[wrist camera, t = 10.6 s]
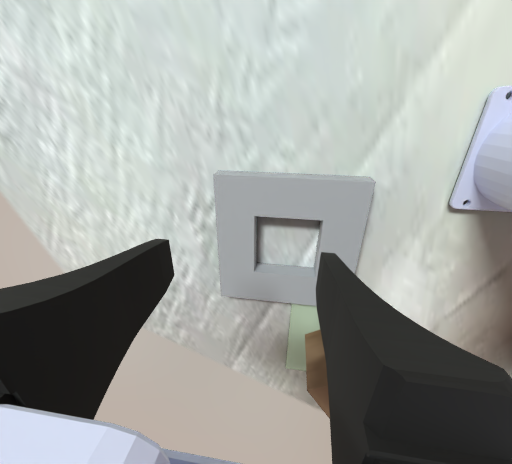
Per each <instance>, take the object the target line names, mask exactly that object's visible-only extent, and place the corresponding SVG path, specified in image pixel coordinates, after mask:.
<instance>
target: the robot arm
mask: <svg viewBox="0 0 512 464" xmlns="http://www.w3.org/2000/svg"><path fill="white" fill-rule="evenodd" d="M509 91H510V92H511V96H510V98H509V99H506V95H507V93H508V92H509ZM466 200H468V202H467V203H466V204H464V205H463V202H464V201H466ZM449 204H450V206H451V207H453V208H455V209H466V210H484V211H502V212H512V86H501V87H497V88H495V89H494V90H493V91H491V93H490V95H489V97H488V99H487V102H486V105H485V107H484V110H483V113H482V116H481V118H480V121H479V124H478V126H477V129H476V132H475V134H474V137H473V140H472V142H471V145H470V148H469V150H468V153H467V156H466V158H465V161H464V164H463V166H462V169H461V172H460V174H459V177H458V180H457V182H456V185H455V188H454V190H453V193H452V196H451V199H450V202H449ZM173 277H174V269H173V263H172V257H171V251H170V245H169V240H165V239H155V240H151V241H148V242H146V243H143V244H141V245H138V246H136V247H134V248H131V249H129V250H127V251H124V252H122V253H120V254H117V255H115V256H112V257H110V258H107V259H105V260H102V261H100V262H97V263H95V264H92V265H89V266H86V267H83V268H81V269H78V270H74V271H71V272H68V273H65V274H62V275H58V276H54V277H50V278H46V279H42V280H39V281H35V282H31V283H26V284H22V285H17V286H13V287H7V288H2V289H0V464H241V463H236V462H231V461H226V460H220V459H214V458H210V457H205V456H199V455H194V454H189V453H183V452H178V451H172V450H168V449H163V448H161V447H160V446H159V445H158V444H157V443H155V442H154V441H152V440H151V439H149V438H148V437H146V436H144V435H143V434H141V433H140V432H138V431H134V430H131V429H129V428H125V427H122V426H119V425H116V424H112V423H107V422H102V421H96V420H93V419H94V417H95V415H96V413H97V410H98V408H99V406H100V404H101V402H102V399H103V398H104V395H105V393H106V391H107V389H108V387H109V385H110V383H111V381H112V379H113V377H114V375H115V373H116V371H117V369H118V367H119V365H120V363H121V361H122V359H123V357H124V356H125V354H126V352H127V350H128V349H129V347H130V345H131V343H132V341H133V340H134V338H135V336H136V335H137V333H138V332H139V330H140V329H141V327H142V326H143V324H144V323H145V322H146V320H147V319H148V317H149V316H150V314H151V313H152V312H153V310H154V309H155V307H156V306H157V304H158V303H159V301H160V300H161V299H162V297H163V296H164V294H165V293H166V291H167V289H168V287H169V285H170V283H171V281H172V279H173ZM316 306H317V314H318V319H319V325H320V331H321V336H322V342H323V347H324V353H325V360H326V369H327V382H328V395H329V410H330V427H331V445H332V464H512V379H511V377H510V376H509V375H508V374H507V373H506V371H505V370H504V369H503V368H500V367H498V366H496V365H494V364H492V363H490V362H488V361H486V360H484V359H482V358H480V357H477V356H475V355H473V354H471V353H469V352H467V351H465V350H463V349H461V348H459V347H457V346H455V345H453V344H451V343H450V342H448V341H446V340H444V339H442V338H440V337H439V336H437V335H435V334H433V333H432V332H430V331H428V330H426V329H425V328H423V327H421V326H420V325H418V324H417V323H415V322H414V321H412V320H411V319H409V318H407V317H406V316H404V315H403V314H401V313H400V312H399V311H397V310H396V309H394V308H393V307H392V306H390V305H389V304H388V303H386V302H385V301H384V300H383V299H381V298H380V297H379V296H378V295H376V294H375V293H374V292H373V291H372V290H371V289H370V288H369V287H367V286H366V285H365V284H364V283H363V282H362V281H361V280H360V279H359V278H358V277H357V276H356V275H355V274H354V273H353V272H352V271H351V270H350V269H349V268H348V267H347V266H346V264H345V263H344V262H343V261H342V260H341V259H340V258H339V257H338V256H337V255H336V254H335V253H327V252H321V256H320V263H319V269H318V276H317V283H316Z"/></svg>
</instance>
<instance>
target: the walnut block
mask: <svg viewBox="0 0 512 464" xmlns="http://www.w3.org/2000/svg"><path fill="white" fill-rule="evenodd" d="M305 351H306V374H307V391H308V392H309V393H310V395H311V396H312V397H313V398H314V400H315V401H316V402H317V403H318V405H319V406H320V407H321V408H322V410H323V411H324V412H325V413H326V415H327V416H328V417H329V418H330V410H329V395H328V382H327V369H326V360H325V353H324V347H323V342H322V336H321V331H320V330H317V331H314V332H311V333H308V334H305Z"/></svg>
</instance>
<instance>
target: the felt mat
mask: <svg viewBox="0 0 512 464" xmlns="http://www.w3.org/2000/svg"><path fill="white" fill-rule="evenodd" d="M317 330H320V325H319V319H318V314H317V306H311V305H302V304H292V305H291V316H290V326H289V336H288V347H287V357H286V368H287V369H294V370H301V371H306V351H305V334H308V333H311V332H314V331H317Z"/></svg>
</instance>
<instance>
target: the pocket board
mask: <svg viewBox="0 0 512 464" xmlns="http://www.w3.org/2000/svg"><path fill="white" fill-rule="evenodd" d="M213 179H214V194H215V210H216V225H217V240H218V255H219V271H220V286H221V296H227V297H236V298H245V299H255V300H264V301H273V302H283V303H292V304H302V305H311V306H316V283H317V276H318V269H319V263H320V256H321V252H327V253H335V254H336V255H337V256H338V257H339V258H340V259H341V260H342V261H343V262H344V263H345V264H346V266H347V267H348V268H349V269H350V270H351V271H352V272H353V273H354V274H355V271H356V266H357V262H358V257H359V253H360V249H361V244H362V240H363V235H364V231H365V227H366V222H367V218H368V213H369V209H370V205H371V200H372V196H373V191H374V187H375V183H376V182H375V181H374V180H373V179H372V178H371V177H360V176H336V175H313V174H290V173H266V172H243V171H217V172H216V173H215V174H213ZM257 216H260V217H276V218H291V219H307V220H321V221H320V228H319V235H318V242H317V250H316V257H315V264H314V268H309V267H298V266H287V265H275V264H264V263H256V240H257Z"/></svg>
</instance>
